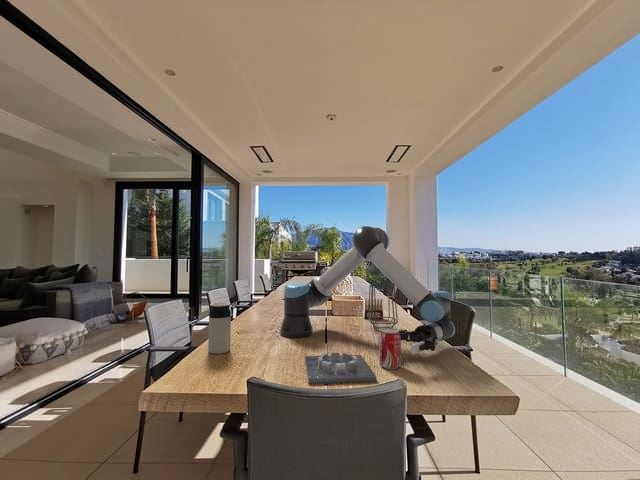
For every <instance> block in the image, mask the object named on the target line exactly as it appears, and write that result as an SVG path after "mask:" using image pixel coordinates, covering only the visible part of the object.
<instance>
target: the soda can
mask: <svg viewBox="0 0 640 480" xmlns="http://www.w3.org/2000/svg"><path fill="white" fill-rule="evenodd" d="M390 328H391V327H390ZM390 328H381V330H380V333H379V335H378V336H379V344H378V345H379V346H378V354H379V356H378V359H379V365H380V366H381V367H382V368H384V369H385V370H396V369H398V368H399V367H400V366H401V361H402V360H401V359H402V354H401V352H402V342H401V341H402V340H401V337H400V334H399V333H398V332H399V331H400V330H398V329H396V328H393V329H390Z"/></svg>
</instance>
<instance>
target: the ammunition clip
mask: <svg viewBox="0 0 640 480" xmlns="http://www.w3.org/2000/svg"><path fill="white" fill-rule="evenodd" d="M375 302H376V317H384V311H383V310H384V307H383V298H380V299H379V297H378V298H376V297H375ZM363 315H364V316H363V319H364V320H369V319H368V317H369V299H367V298H365V300H364V314H363ZM372 317H375V305H374V304H373V315H372ZM370 318H371V304H370ZM372 319H373V320H375V318H372ZM376 320H384V318H376Z"/></svg>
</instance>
